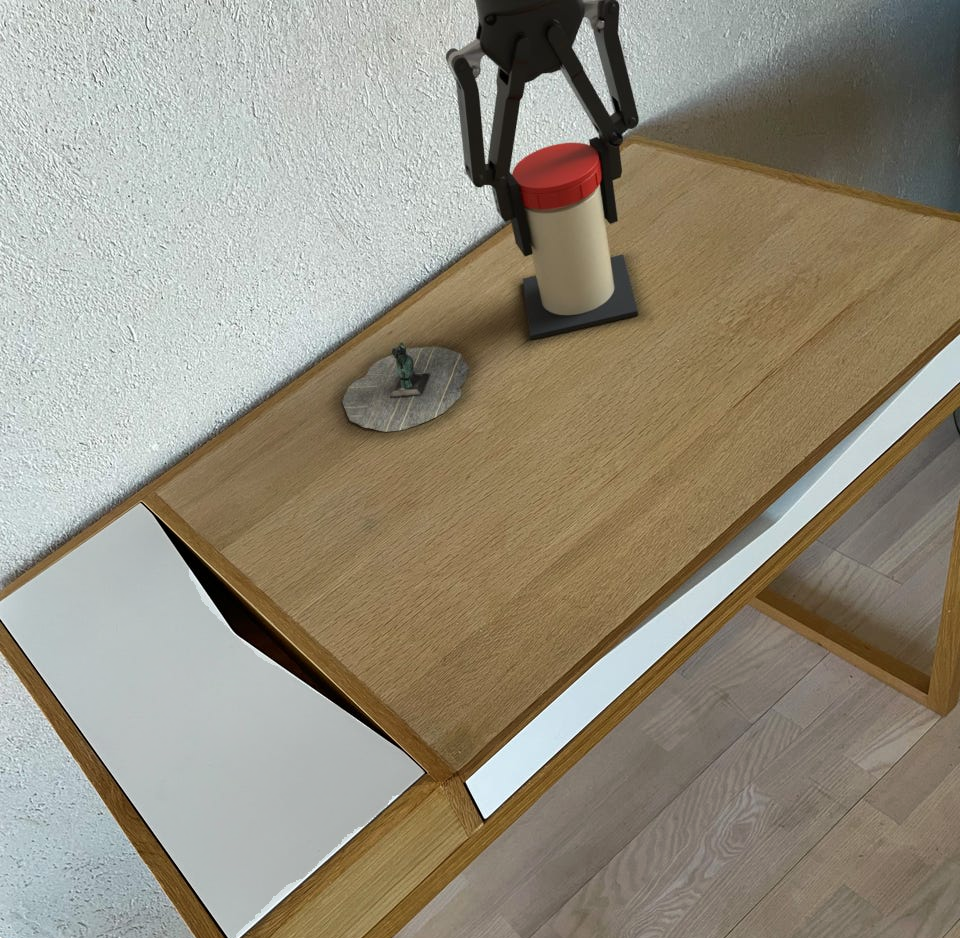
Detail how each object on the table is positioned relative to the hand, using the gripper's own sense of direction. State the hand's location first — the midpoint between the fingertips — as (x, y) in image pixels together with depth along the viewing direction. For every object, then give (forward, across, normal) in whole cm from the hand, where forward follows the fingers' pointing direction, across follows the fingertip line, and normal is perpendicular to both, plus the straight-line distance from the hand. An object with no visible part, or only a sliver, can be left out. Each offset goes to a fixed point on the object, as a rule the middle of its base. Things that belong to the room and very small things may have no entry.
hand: (566, 232), depth 86 cm
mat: (+7, 0, 0) cm, 7 cm away
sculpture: (+7, -18, -4) cm, 20 cm away
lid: (-6, 0, 0) cm, 6 cm away
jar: (+6, 0, 0) cm, 6 cm away
